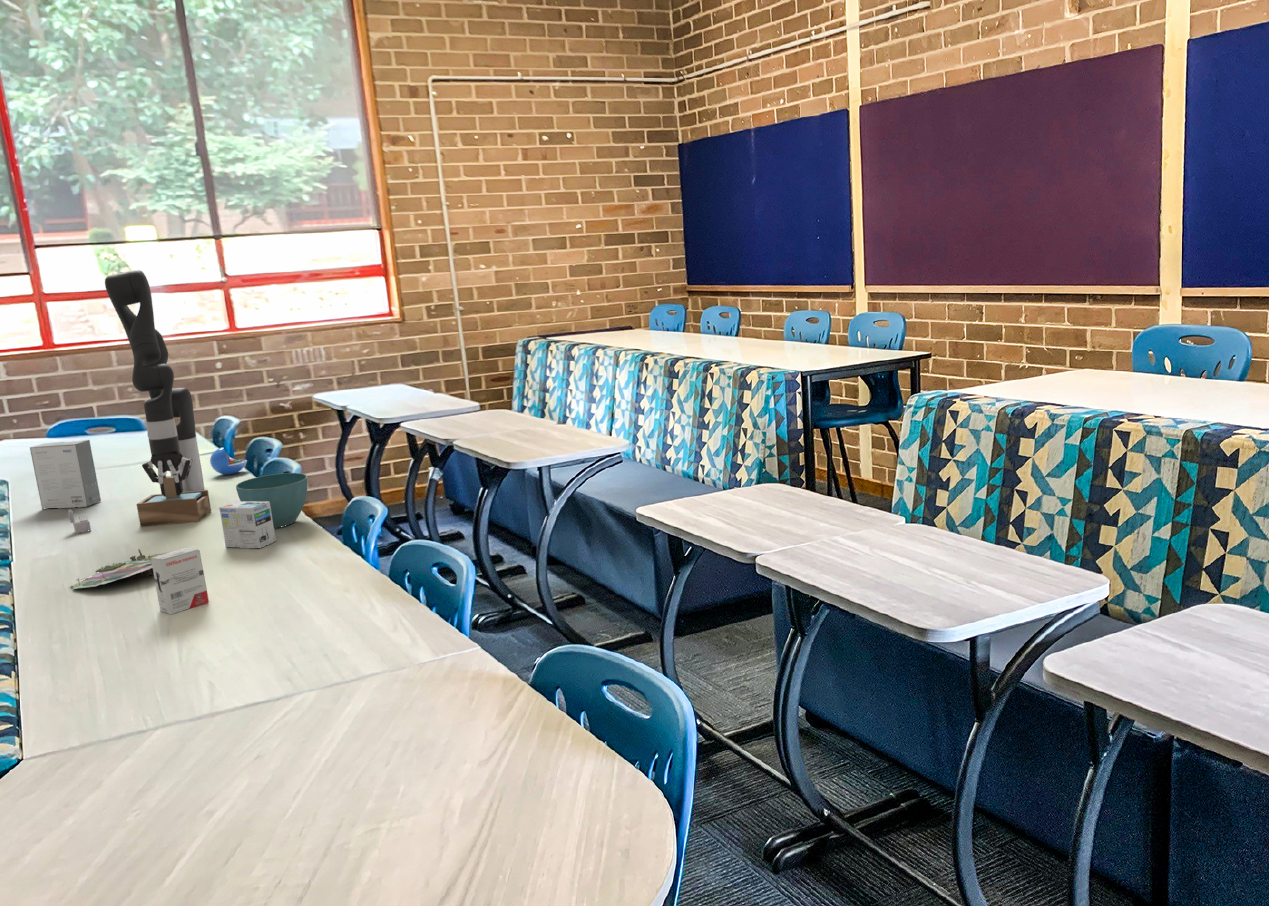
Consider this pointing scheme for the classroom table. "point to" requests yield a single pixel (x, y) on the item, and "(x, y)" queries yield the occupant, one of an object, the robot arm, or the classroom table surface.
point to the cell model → (225, 463)
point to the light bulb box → (247, 524)
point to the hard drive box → (65, 474)
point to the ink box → (179, 580)
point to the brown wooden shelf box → (173, 510)
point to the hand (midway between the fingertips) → (172, 495)
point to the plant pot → (277, 495)
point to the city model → (119, 571)
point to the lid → (172, 492)
